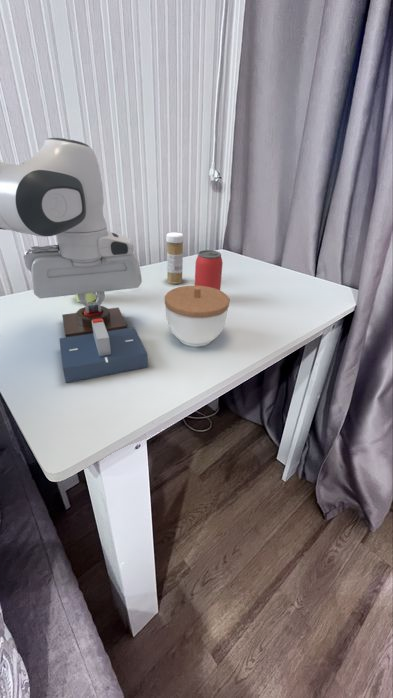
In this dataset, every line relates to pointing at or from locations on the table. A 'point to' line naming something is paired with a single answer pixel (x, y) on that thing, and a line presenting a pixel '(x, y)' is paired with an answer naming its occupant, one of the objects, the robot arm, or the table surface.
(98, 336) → the grey rectangular block
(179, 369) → the table surface
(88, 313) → the button
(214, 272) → the beer can
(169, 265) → the sprinkles bottle
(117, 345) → the panel
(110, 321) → the button block
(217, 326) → the lidded bowl
